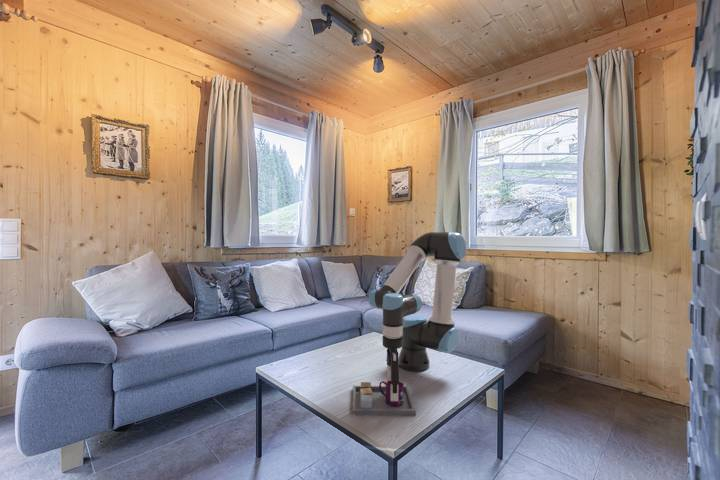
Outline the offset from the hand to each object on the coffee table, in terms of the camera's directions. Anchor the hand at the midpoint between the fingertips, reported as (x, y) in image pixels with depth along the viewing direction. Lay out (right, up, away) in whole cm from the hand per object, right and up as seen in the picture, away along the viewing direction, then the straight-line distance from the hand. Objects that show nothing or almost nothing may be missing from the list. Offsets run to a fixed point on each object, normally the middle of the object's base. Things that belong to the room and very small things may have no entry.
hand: (392, 391), depth 123 cm
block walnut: (-10, -4, +5) cm, 11 cm away
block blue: (-10, -4, -5) cm, 12 cm away
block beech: (-10, -4, 0) cm, 10 cm away
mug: (0, -4, +1) cm, 4 cm away
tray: (-4, -4, 0) cm, 6 cm away
